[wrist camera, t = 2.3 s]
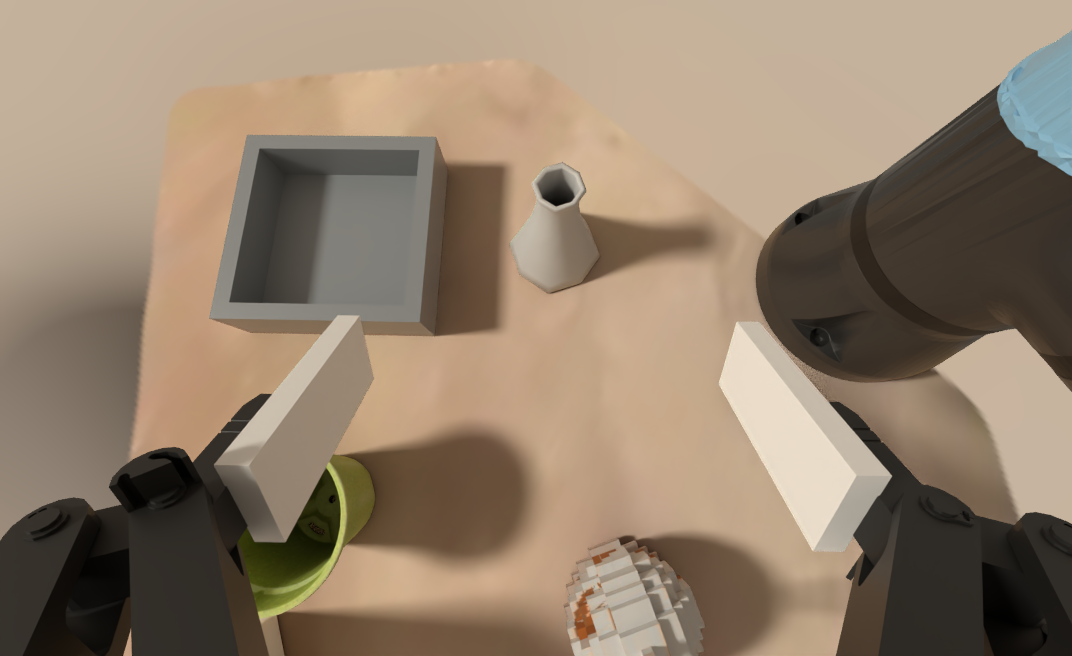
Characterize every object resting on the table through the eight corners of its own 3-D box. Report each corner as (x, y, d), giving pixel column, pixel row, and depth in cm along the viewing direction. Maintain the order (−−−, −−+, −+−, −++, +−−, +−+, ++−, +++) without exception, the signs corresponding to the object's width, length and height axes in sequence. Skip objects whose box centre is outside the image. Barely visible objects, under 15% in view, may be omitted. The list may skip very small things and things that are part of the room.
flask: (562, 197, 38) (569, 115, 28) (614, 259, 36) (642, 196, 26) (494, 243, 37) (477, 175, 27) (545, 309, 35) (547, 263, 25)
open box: (448, 170, 38) (436, 136, 34) (435, 336, 35) (419, 322, 30) (280, 168, 38) (247, 134, 34) (250, 332, 35) (209, 318, 31)
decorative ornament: (550, 560, 31) (558, 674, 16) (651, 522, 31) (747, 600, 17) (588, 680, 29) (635, 929, 14) (695, 638, 30) (844, 839, 15)
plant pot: (357, 593, 30) (287, 655, 22) (246, 532, 31) (138, 569, 23) (420, 467, 32) (377, 479, 24) (313, 413, 33) (236, 407, 25)
